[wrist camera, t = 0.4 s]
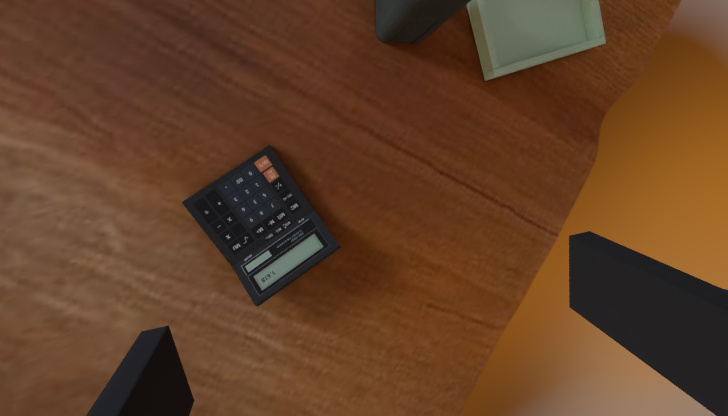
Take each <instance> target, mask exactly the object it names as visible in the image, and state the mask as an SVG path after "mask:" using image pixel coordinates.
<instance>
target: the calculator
mask: <svg viewBox="0 0 728 416" xmlns="http://www.w3.org/2000/svg"><path fill="white" fill-rule="evenodd" d="M182 203H183V204H184V206H185V207H186V208H187V209H188V211H189V212H190V213H191V215H192V216H193V217H194V218H195V220H196V221H197V222H198V224H199V225H200V226H201V227H202V229H203V230H204V231H205V232H206V234H207V235H208V236H209V238H210V239H211V240H212V241H213V243H214V244H215V245H216V247H217V248H218V249H219V250H220V252H221V253H222V254H223V255H224V257H225V258H226V259H227V261H228V262H229V263H230V264H231V266H232V267H233V269H234V270H235V272H236V274H237V276H238V277H239V279H240V281H241V282H242V284H243V286H244V287H245V289H246V291H247V292H248V294H249V296H250V297H251V299H252V301H253V302H254V304H255V305H256V306H259V305H260V304H262V303H263V302H265V301H266V300H268V299H269V298H270V297H272V296H273V295H275V294H276V293H277V292H279V291H280V290H282V289H283V288H284V287H286V286H287V285H289V284H290V283H292V282H293V281H294V280H296V279H297V278H299V277H300V276H301V275H303V274H304V273H306V272H307V271H309V270H310V269H311V268H313V267H314V266H316V265H317V264H318V263H320V262H321V261H323V260H324V259H326V258H327V257H328V256H330V255H331V254H333V253H334V252H335V251H337V250H338V249H340V248H341V247H340V246H339V244H338V243H337V241H336V240H335V238H334V237H333V236H332V234H331V233H330V231H329V230H328V229H327V227H326V226H325V224H324V223H323V221H322V220H321V219H320V217H319V216H318V214H317V213H316V211H315V210H314V209H313V207H312V206H311V204H310V203H309V201H308V200H307V199H306V197H305V196H304V194H303V193H302V191H301V190H300V188H299V187H298V186H297V184H296V183H295V181H294V180H293V178H292V177H291V175H290V174H289V173H288V171H287V170H286V168H285V167H284V165H283V164H282V163H281V161H280V160H279V158H278V157H277V155H276V154H275V152H274V151H273V150H272V148H271V147H270V145H269V146H268V147H266V148H265V149H263V150H262V151H260V152H259V153H257V154H256V155H254V156H252V157H251V158H249V159H248V160H246V161H245V162H243V163H242V164H240V165H239V166H237V167H236V168H234V169H233V170H231V171H230V172H228V173H226V174H225V175H223V176H222V177H220V178H219V179H217V180H216V181H214V182H213V183H211V184H210V185H208V186H207V187H205V188H203V189H202V190H200V191H199V192H197V193H196V194H194V195H193V196H191V197H190V198H188V199H187V200H185V201H184V202H182Z"/></svg>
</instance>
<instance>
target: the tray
mask: <svg viewBox="0 0 728 416" xmlns="http://www.w3.org/2000/svg"><path fill="white" fill-rule="evenodd" d="M466 5H467V9H468V13H469V17H470V21H471V26H472V30H473V34H474V38H475V42H476V46H477V50H478V55H479V59H480V63H481V67H482V71H483V75H484V80H485V81H487V80H490V79H494V78H497V77H500V76H503V75H507V74H510V73H513V72H516V71H520V70H523V69H526V68H529V67H533V66H536V65H539V64H542V63H546V62H549V61H552V60H555V59H559V58H562V57H565V56H568V55H572V54H575V53H578V52H581V51H585V50H588V49H591V48H594V47H597V46H599V45H602V44H605V43H606V40H605V36H604V35H605V34H604V29H603V23H602V18H601V12H600V7H599V1H598V0H471V1H470V2H469V3H468V4H466Z"/></svg>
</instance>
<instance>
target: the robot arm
mask: <svg viewBox="0 0 728 416" xmlns="http://www.w3.org/2000/svg"><path fill="white" fill-rule="evenodd" d="M569 270H570V271H569V277H570V279H569V283H570V284H569V287H570V289H569V292H570V308H572V309H573V310H574V311H576V312H577V313H579V314H580V315H581V316H582V317H584V318H585V319H586V320H588V321H589V322H590V323H592V324H593V325H595V326H596V327H597V328H599V329H600V330H601V331H603V332H604V333H606V334H607V335H608V336H609V337H611V338H612V339H614V340H615V341H616V342H618V343H619V344H620V345H622V346H623V347H624V348H626V349H627V350H628V351H630V352H631V353H632V354H634V355H635V356H637V357H638V358H639V359H641V360H642V361H643V362H645V363H646V364H648V365H649V366H650V367H651V368H653V369H654V370H656V371H657V372H658V373H660V374H661V375H662V376H664V377H665V378H667V379H668V380H669V381H670V382H672V383H673V384H674V385H676V386H677V387H678V388H680V389H681V390H683V391H684V392H686V393H687V394H688V395H689V396H691V397H692V398H694V399H695V400H696V401H698V402H699V403H700V404H702V405H703V406H704V407H706V408H707V409H708V410H710V411H711V412H713V413H714V414H715V415H716V416H728V290H725V289H722V288H719V287H716V286H714V285H712V284H710V283H708V282H705V281H703V280H701V279H698V278H695V277H694V276H691V275H689V274H687V273H684V272H682V271H680V270H678V269H675V268H673V267H670V266H668V265H666V264H664V263H661V262H659V261H657V260H654V259H652V258H650V257H647V256H645V255H643V254H640V253H638V252H636V251H634V250H631V249H629V248H627V247H625V246H622V245H620V244H617V243H615V242H613V241H611V240H608V239H606V238H604V237H601V236H599V235H597V234H595V233H592V232H590V231H589V232H585V233H580V234H576V235H571V236H569ZM193 402H194V399H193V396H192V393H191V390H190V387H189V384H188V381H187V378H186V375H185V373H184V370H183V367H182V364H181V361H180V358H179V355H178V352H177V349H176V346H175V343H174V340H173V337H172V334H171V331H170V329H169V326H165V327H160V328H156V329H151V330H147V331H142V332H141V333H140V335H139V336H138V338H137V339H136V341H135V342H134V344H133V346H132V347H131V349H130V350H129V352H128V353H127V355H126V356H125V358H124V359H123V361H122V362H121V364H120V365H119V367H118V368H117V370H116V371H115V373H114V374H113V376H112V377H111V379H110V380H109V382H108V383H107V385H106V387H105V388H104V390H103V391H102V393H101V394H100V396H99V397H98V399H97V400H96V402H95V403H94V405H93V406H92V408H91V409H90V411H89V412H88V414H87V415H86V416H189V414H190V411H191V408H192V405H193Z"/></svg>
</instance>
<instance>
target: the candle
mask: <svg viewBox="0 0 728 416" xmlns="http://www.w3.org/2000/svg"><path fill="white" fill-rule="evenodd" d="M470 1H471V0H375V22H376V34H377V37H378V38H379V39H380V40H381V41H382V42H384V43H389V42H390V41H391V42H412V44H418V43H420V42H421V41H422V40H424V39H425V38H426V37H427V36H429V35H430V34H431V33H432V32H433V31H435V30H436V29H437V28H438V27H440V26H441V25H442V24H443V23H444V22H446V21H447V20H448V19H449V18H451V17H452V16H453V15H454V14H455V13H457V12H458V11H459V10H460V9H462V8H463V7H464V6H465V5H466V4H468V3H469V2H470Z"/></svg>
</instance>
